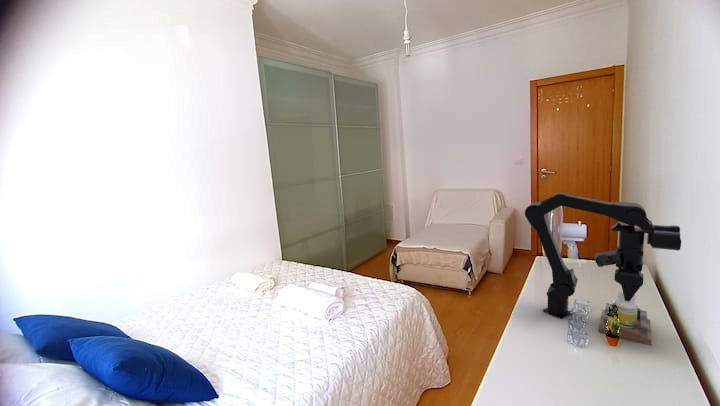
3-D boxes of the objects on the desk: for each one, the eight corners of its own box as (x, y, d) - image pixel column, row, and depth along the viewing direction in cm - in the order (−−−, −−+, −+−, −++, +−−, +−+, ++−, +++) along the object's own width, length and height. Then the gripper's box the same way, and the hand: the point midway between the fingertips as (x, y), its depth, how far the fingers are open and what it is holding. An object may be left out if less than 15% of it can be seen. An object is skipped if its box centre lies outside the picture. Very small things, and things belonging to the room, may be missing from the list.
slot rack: (651, 345, 90) (652, 331, 90) (598, 332, 98) (599, 319, 97) (649, 323, 101) (650, 310, 100) (602, 312, 108) (602, 301, 108)
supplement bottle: (615, 317, 103) (618, 289, 101) (637, 323, 99) (640, 294, 97) (611, 324, 99) (613, 294, 98) (634, 331, 95) (636, 300, 94)
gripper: (599, 235, 107) (597, 279, 110) (594, 250, 93) (591, 300, 96) (644, 239, 100) (640, 286, 102) (645, 256, 86) (641, 310, 89)
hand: (627, 294), depth 97 cm, fingers open, 9 cm apart
